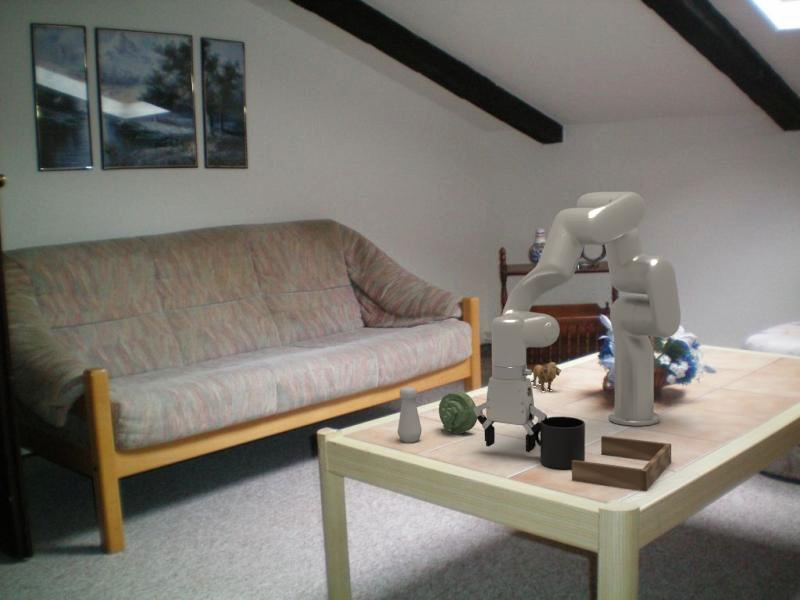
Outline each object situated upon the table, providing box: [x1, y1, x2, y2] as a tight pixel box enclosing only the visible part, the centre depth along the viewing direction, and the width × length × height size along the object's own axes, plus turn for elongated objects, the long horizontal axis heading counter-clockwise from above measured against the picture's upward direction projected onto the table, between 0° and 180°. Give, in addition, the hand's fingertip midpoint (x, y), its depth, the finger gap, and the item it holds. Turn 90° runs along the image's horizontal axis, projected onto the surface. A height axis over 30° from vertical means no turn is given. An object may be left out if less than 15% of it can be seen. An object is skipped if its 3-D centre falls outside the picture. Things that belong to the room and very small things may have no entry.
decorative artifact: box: [438, 391, 478, 435], centre depth 212 cm, size 10×7×10 cm
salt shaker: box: [397, 386, 423, 444], centre depth 208 cm, size 6×6×13 cm
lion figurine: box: [530, 361, 562, 392], centre depth 256 cm, size 15×5×9 cm, turn 21°
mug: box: [536, 416, 586, 470], centre depth 188 cm, size 9×12×9 cm
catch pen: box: [571, 435, 672, 492], centre depth 181 cm, size 20×15×4 cm
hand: (509, 447), depth 194 cm, fingers open, 9 cm apart
